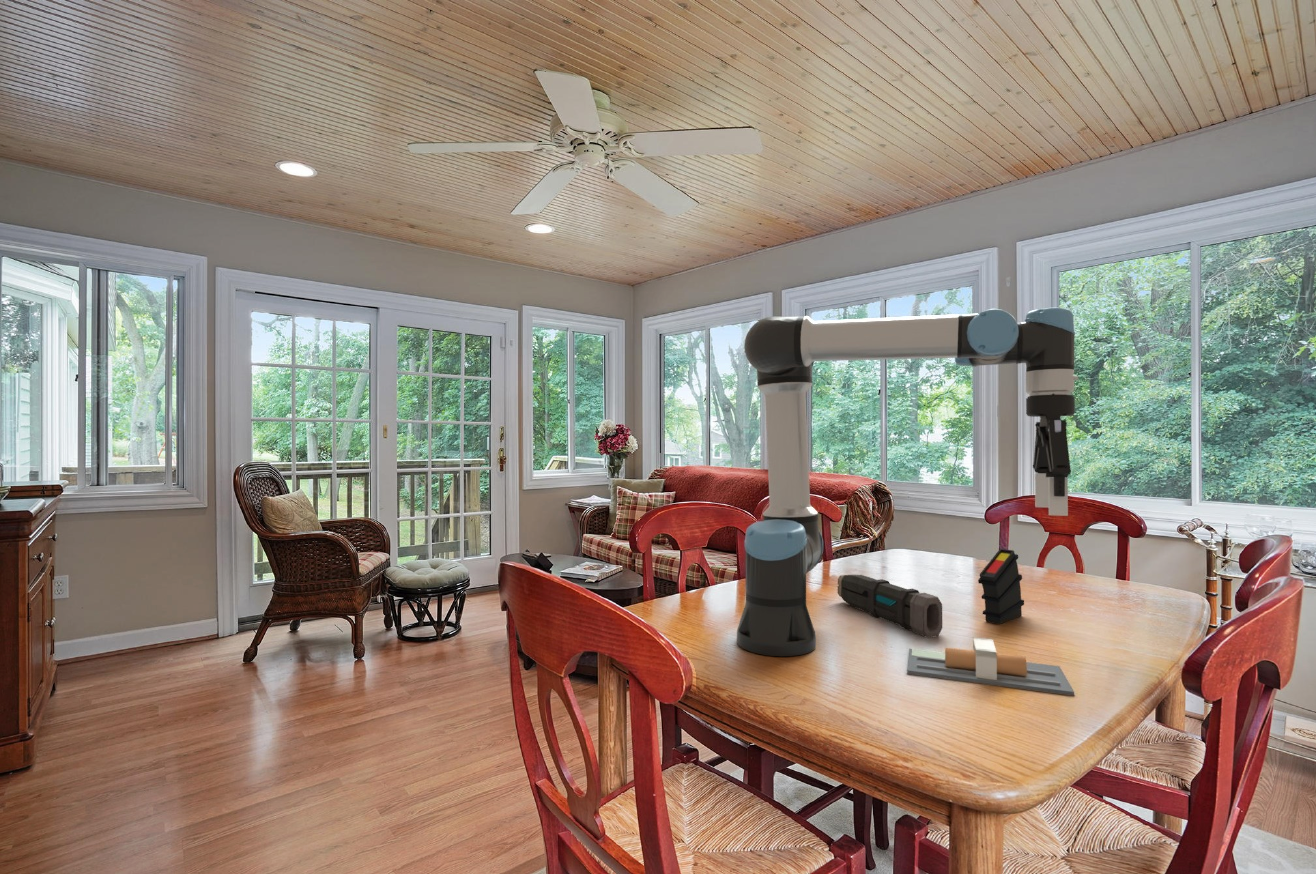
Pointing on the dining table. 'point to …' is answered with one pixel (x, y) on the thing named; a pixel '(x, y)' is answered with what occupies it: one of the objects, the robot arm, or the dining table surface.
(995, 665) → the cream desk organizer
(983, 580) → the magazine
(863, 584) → the tube
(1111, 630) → the dining table surface
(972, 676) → the guide mat
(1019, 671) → the tan cylindrical rod
